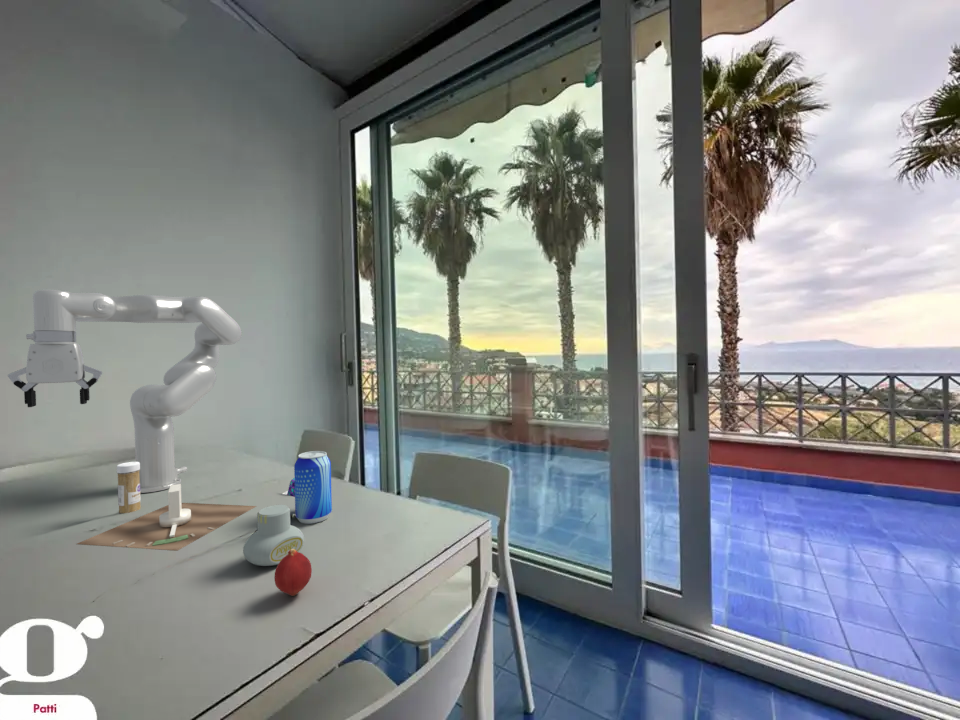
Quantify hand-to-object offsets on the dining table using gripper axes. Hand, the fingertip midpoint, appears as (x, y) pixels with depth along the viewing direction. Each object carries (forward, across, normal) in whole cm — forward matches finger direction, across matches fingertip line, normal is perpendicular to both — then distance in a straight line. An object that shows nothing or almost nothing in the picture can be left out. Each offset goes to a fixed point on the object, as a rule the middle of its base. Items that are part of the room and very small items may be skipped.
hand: (58, 405), depth 107 cm
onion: (+28, +45, -72) cm, 90 cm away
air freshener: (+29, +44, -56) cm, 77 cm away
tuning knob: (+27, +26, -32) cm, 49 cm away
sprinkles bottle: (+28, +15, -11) cm, 34 cm away
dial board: (+28, +26, -28) cm, 48 cm away
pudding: (+29, +55, -20) cm, 65 cm away
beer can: (+28, +54, -39) cm, 73 cm away
